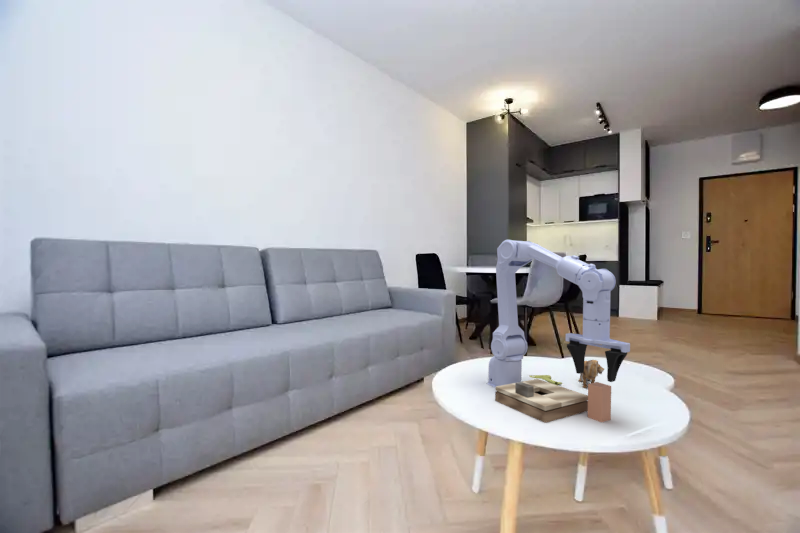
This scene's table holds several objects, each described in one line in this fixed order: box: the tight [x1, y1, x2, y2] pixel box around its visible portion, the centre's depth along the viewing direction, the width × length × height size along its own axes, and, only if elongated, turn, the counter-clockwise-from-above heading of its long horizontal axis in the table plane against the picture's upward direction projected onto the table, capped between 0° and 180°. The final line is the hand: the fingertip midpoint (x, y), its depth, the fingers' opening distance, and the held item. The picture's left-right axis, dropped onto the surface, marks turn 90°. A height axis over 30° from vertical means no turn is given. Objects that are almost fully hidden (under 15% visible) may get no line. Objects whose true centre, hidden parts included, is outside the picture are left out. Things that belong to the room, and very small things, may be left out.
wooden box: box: [494, 390, 588, 424], centre depth 96 cm, size 16×16×3 cm
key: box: [529, 374, 563, 386], centre depth 120 cm, size 7×12×2 cm, turn 27°
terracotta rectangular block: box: [587, 381, 612, 423], centre depth 89 cm, size 4×4×8 cm
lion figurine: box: [577, 359, 605, 389], centre depth 117 cm, size 15×5×9 cm, turn 171°
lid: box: [494, 378, 588, 411], centre depth 96 cm, size 16×16×4 cm
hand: (595, 376), depth 89 cm, fingers open, 7 cm apart
